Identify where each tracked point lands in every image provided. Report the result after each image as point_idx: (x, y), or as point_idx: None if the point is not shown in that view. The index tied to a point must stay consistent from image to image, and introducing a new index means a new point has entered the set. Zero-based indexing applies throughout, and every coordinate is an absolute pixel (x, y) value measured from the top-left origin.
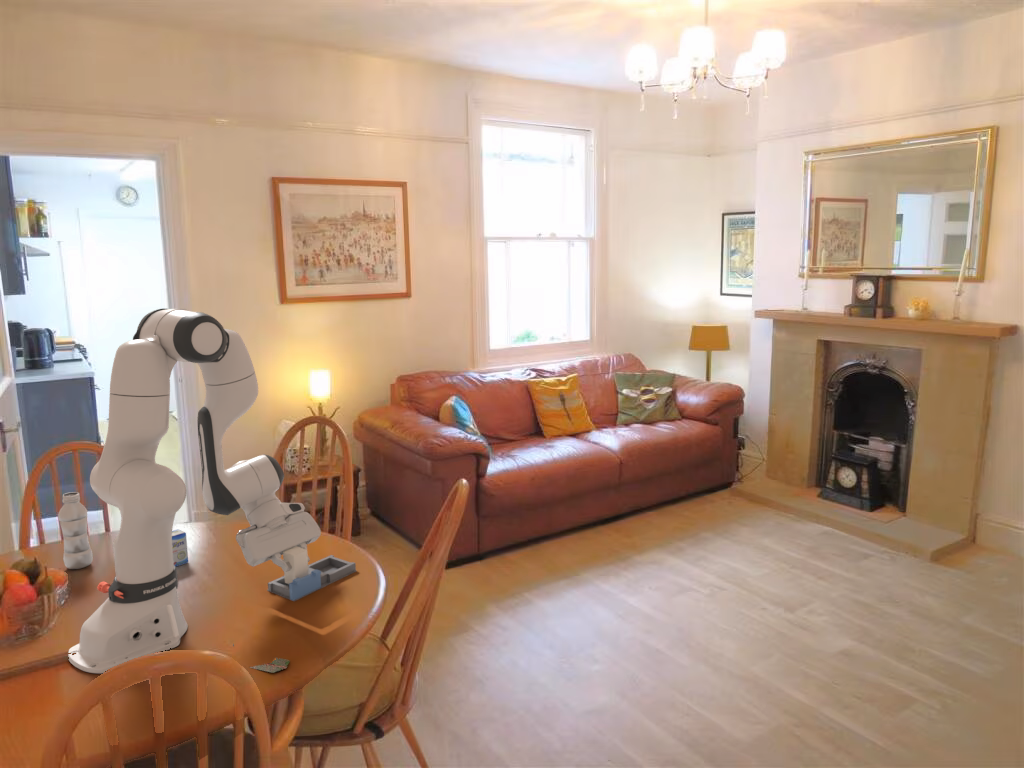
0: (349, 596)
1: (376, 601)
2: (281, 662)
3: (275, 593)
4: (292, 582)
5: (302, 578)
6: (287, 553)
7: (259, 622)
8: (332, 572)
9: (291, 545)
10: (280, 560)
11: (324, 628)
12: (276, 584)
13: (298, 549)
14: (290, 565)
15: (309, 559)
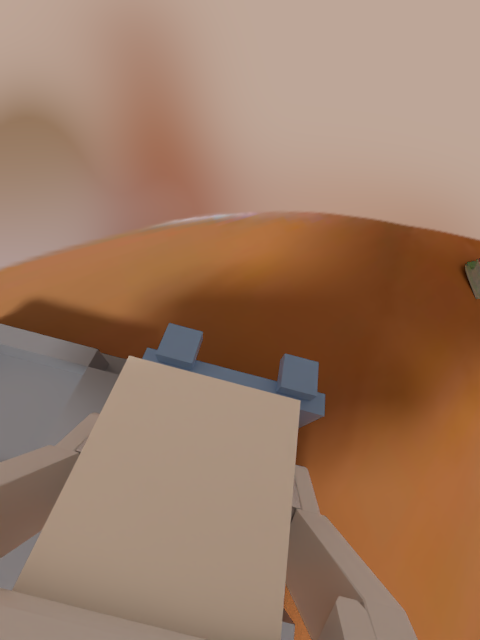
0: (174, 281)
1: (182, 220)
2: (476, 277)
3: None
4: (306, 406)
5: (248, 386)
6: (288, 530)
7: (435, 446)
8: (67, 352)
9: (117, 631)
10: (356, 558)
11: (340, 267)
12: None
13: (135, 464)
14: None
15: (97, 413)
